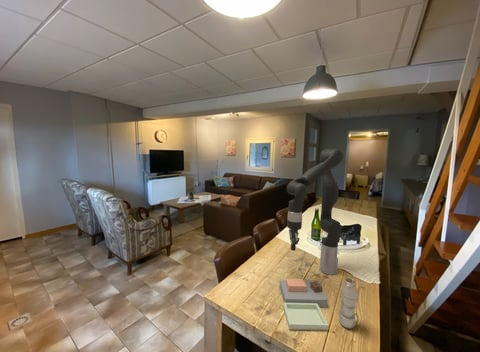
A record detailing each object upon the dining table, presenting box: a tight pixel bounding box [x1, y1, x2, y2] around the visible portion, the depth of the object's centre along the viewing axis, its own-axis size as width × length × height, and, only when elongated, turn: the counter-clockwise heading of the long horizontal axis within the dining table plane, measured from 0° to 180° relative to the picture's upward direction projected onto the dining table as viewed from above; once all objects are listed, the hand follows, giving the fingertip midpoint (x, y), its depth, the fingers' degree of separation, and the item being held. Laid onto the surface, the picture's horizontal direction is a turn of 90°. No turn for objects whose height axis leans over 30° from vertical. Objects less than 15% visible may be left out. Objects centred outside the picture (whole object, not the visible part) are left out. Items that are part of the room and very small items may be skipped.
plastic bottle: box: [338, 277, 359, 329], centre depth 84 cm, size 6×7×20 cm
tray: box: [282, 301, 329, 332], centre depth 88 cm, size 16×12×2 cm
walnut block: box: [310, 280, 323, 293], centre depth 100 cm, size 4×4×3 cm
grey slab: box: [279, 279, 329, 308], centre depth 101 cm, size 20×14×4 cm
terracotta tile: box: [285, 278, 307, 292], centre depth 101 cm, size 9×6×3 cm, turn 89°
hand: (293, 249), depth 108 cm, fingers closed
